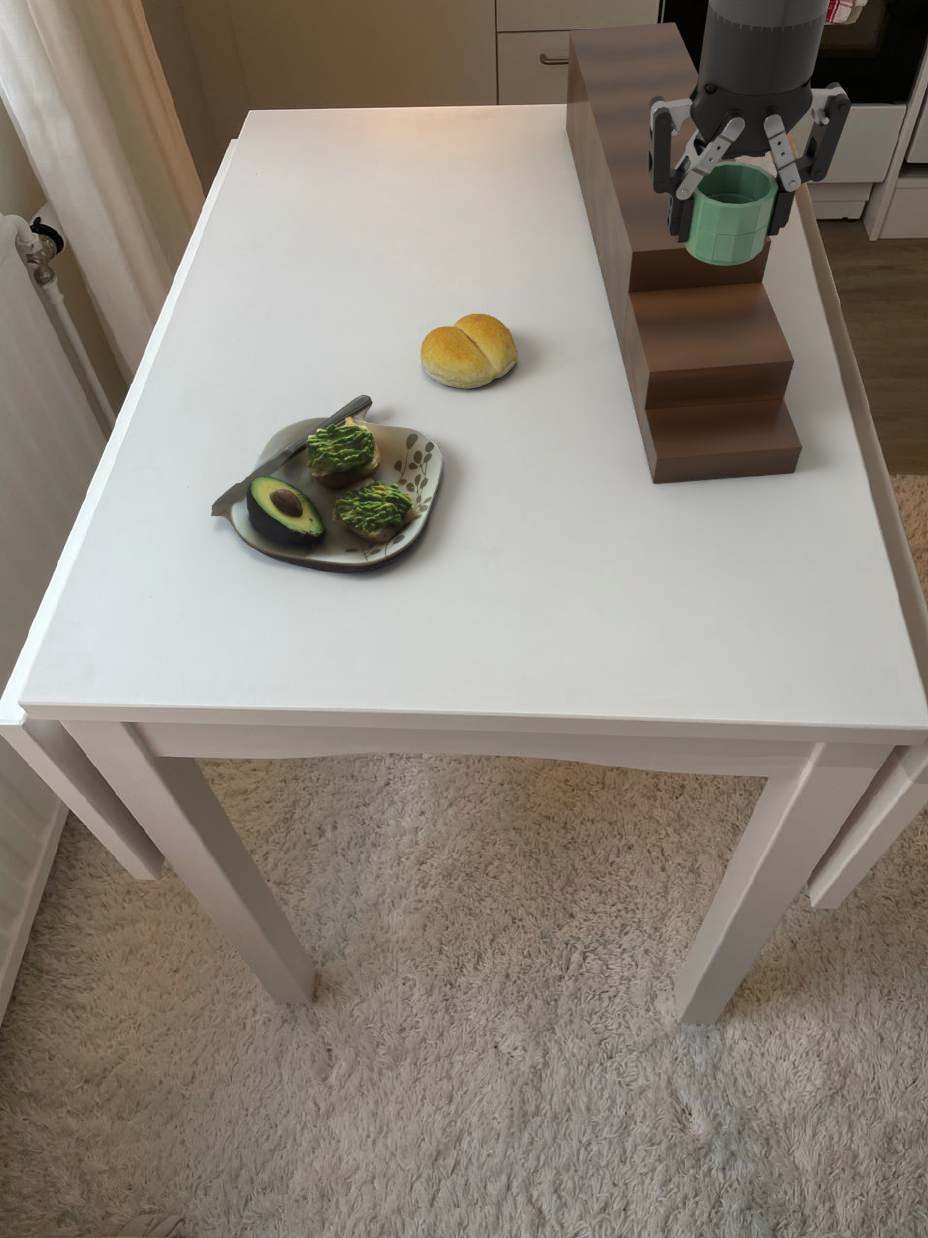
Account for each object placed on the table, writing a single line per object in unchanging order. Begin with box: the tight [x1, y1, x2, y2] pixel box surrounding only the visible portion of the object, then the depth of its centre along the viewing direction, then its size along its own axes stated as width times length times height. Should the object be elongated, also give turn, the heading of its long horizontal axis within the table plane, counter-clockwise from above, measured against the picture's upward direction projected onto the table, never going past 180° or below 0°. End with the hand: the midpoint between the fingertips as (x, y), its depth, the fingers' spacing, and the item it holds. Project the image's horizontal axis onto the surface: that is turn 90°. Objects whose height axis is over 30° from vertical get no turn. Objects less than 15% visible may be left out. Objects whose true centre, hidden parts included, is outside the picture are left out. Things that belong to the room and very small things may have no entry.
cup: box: [683, 161, 778, 266], centre depth 73 cm, size 6×6×5 cm
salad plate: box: [210, 394, 445, 574], centre depth 80 cm, size 19×18×5 cm
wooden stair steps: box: [565, 21, 803, 484], centre depth 94 cm, size 61×12×11 cm, turn 3°
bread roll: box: [420, 313, 519, 390], centre depth 90 cm, size 8×9×4 cm
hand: (724, 233), depth 75 cm, fingers closed on cup, 6 cm apart
